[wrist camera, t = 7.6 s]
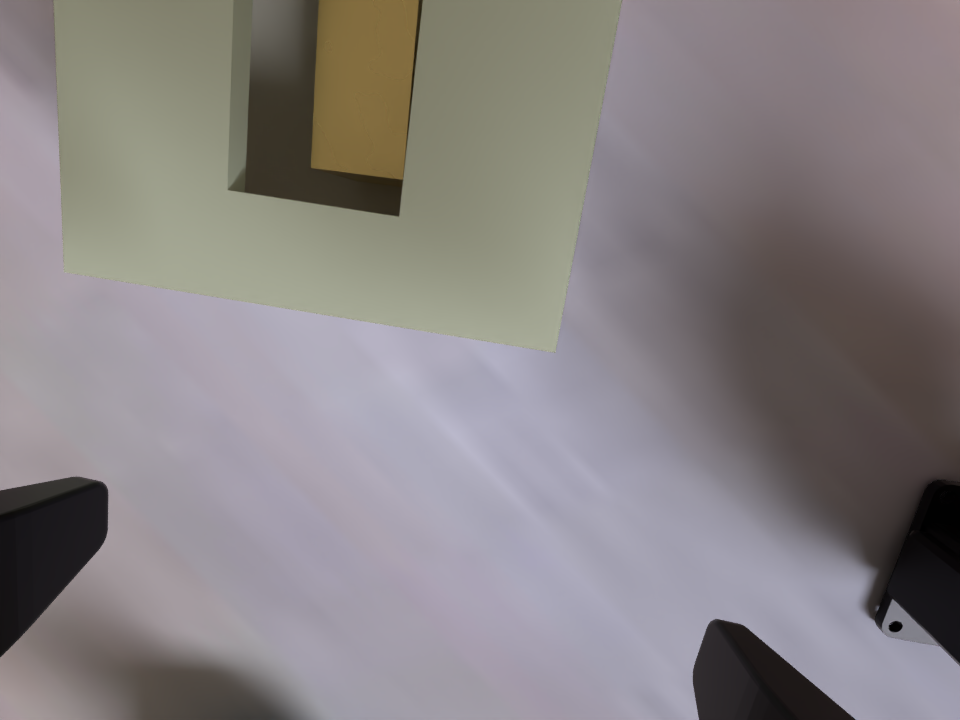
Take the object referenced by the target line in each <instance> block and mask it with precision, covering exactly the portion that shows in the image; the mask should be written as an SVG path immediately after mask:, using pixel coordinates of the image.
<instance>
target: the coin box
mask: <svg viewBox="0 0 960 720" xmlns="http://www.w3.org/2000/svg"><path fill="white" fill-rule="evenodd" d="M621 4H622V0H423V4H422V13H421V22H420V32H419V41H418V50H417V59H416V68H415V77H414V86H413V95H412V104H411V114H410V123H409V132H408V141H407V150H406V159H405V168H404V177H403V187H398V186H390V185H383V184H375V183H367V182H360V181H354V180H351V179H347V178H344V177H340V176H337V175H333V174H330V173H327V172H323V171H320V170H316V169H313V168H311V152H312V131H313V110H314V90H315V69H316V48H317V27H318V7H319V0H53V5H54V30H55V55H56V80H57V106H58V131H59V156H60V182H61V207H62V232H63V257H64V272H66V273H73V274H79V275H85V276H91V277H97V278H103V279H109V280H115V281H121V282H127V283H133V284H140V285H146V286H152V287H158V288H164V289H170V290H176V291H182V292H188V293H194V294H200V295H207V296H213V297H219V298H225V299H231V300H237V301H243V302H249V303H255V304H261V305H268V306H274V307H280V308H286V309H292V310H298V311H304V312H310V313H316V314H322V315H328V316H335V317H341V318H347V319H353V320H359V321H365V322H371V323H377V324H383V325H389V326H395V327H402V328H408V329H414V330H420V331H426V332H432V333H438V334H444V335H450V336H456V337H462V338H469V339H475V340H481V341H487V342H493V343H499V344H505V345H511V346H517V347H523V348H529V349H536V350H542V351H548V352H554V353H555V351H556V346H557V340H558V335H559V330H560V325H561V319H562V314H563V309H564V304H565V298H566V293H567V288H568V282H569V277H570V272H571V267H572V261H573V256H574V251H575V246H576V240H577V235H578V230H579V225H580V219H581V214H582V209H583V204H584V198H585V193H586V188H587V183H588V177H589V172H590V167H591V161H592V156H593V151H594V146H595V140H596V135H597V130H598V125H599V119H600V114H601V109H602V104H603V98H604V93H605V88H606V83H607V77H608V72H609V67H610V61H611V56H612V51H613V46H614V40H615V35H616V30H617V25H618V19H619V14H620V9H621Z"/></svg>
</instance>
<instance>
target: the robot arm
mask: <svg viewBox="0 0 960 720" xmlns="http://www.w3.org/2000/svg"><path fill="white" fill-rule="evenodd" d="M945 491H947V493H946V495H945V496H944V497H942V498H940V496H941V494H942V493H943V492H945ZM107 531H108V489H107V486H106V485H105V484H104V483H103V482H101V481H96V480H92V479H87V478H83V477H70V478H64V479H59V480H54V481H48V482H43V483H38V484H32V485H27V486H22V487H17V488H11V489H6V490H1V491H0V657H1V656H2V655H3V654H4V653H5V652H6V651H7V650H8V649H9V648H10V647H11V646H12V645H13V644H14V643H15V642H16V641H17V640H18V639H19V638H20V637H21V636H22V635H23V634H24V633H25V632H26V631H27V630H28V629H29V627H30V626H31V625H32V624H33V623H34V622H35V621H36V620H37V619H38V618H39V616H40V615H41V614H42V613H43V612H44V611H45V610H46V609H47V607H48V606H49V605H50V604H51V603H52V602H53V601H54V600H55V599H56V597H57V596H58V595H59V594H60V593H61V592H62V591H63V590H64V588H65V587H66V586H67V585H68V584H69V583H70V582H71V581H72V579H73V578H74V577H75V576H76V575H77V574H78V573H79V572H80V570H81V569H82V568H83V567H84V566H85V565H86V564H87V563H88V561H89V560H90V559H91V558H92V557H93V556H94V555H95V554H96V552H97V551H98V550H99V549H100V548H101V546H102V544H103V543H104V541H105V538H106V535H107ZM893 621H895V622H894V623H893V624H891V625H889V624H890V623H891V622H893ZM875 623H876V625H877V626H878V628H879V629H880V630H881V631H882V632H883V633H884V634H885V635H886V636H888V637H891V638H896V639H901V640H907V641H912V642H918V643H923V644H929V645H935V646H940V647H941V648H942V649H943V650H944V651H945V652H946V653H947V654H948V655H949V656H950V657H951V658H952V659H953V660H954V661H955V662H956V663H957V664H958V665H959V666H960V482H955V481H949V480H936V481H933V482H932V483H930V484H929V485H928V486H927V488H926V489H925V492H924V494H923V497H922V499H921V502H920V504H919V507H918V510H917V512H916V515H915V517H914V520H913V522H912V525H911V528H910V530H909V533H908V535H907V538H906V540H905V543H904V545H903V548H902V551H901V553H900V556H899V558H898V561H897V563H896V566H895V569H894V571H893V574H892V576H891V579H890V581H889V584H888V587H887V589H886V592H885V594H884V597H883V599H882V602H881V605H880V607H879V610H878V612H877V615H876V618H875ZM693 686H694V692H695V698H696V704H697V710H698V716H699V720H855V719H854V718H853V717H852V716H851V715H849V714H848V713H847V712H846V711H845V710H844V709H842V708H841V707H840V706H839V705H838V704H836V703H835V702H834V701H833V700H832V699H830V698H829V697H828V696H827V695H826V694H825V693H823V692H822V691H821V690H820V689H819V688H817V687H816V686H815V685H814V684H813V683H812V682H810V681H809V680H808V679H807V678H806V677H804V676H803V675H802V674H801V673H800V672H798V671H797V670H796V669H795V668H794V667H793V666H791V665H790V664H789V663H788V662H787V661H785V660H784V659H783V658H782V657H781V656H780V655H778V654H777V653H776V652H775V651H774V650H772V649H771V648H770V647H769V646H768V645H766V644H765V643H764V642H763V641H762V640H761V639H759V638H758V637H757V636H756V635H755V634H753V633H752V632H751V631H750V630H749V629H748V628H746V627H745V626H743V625H741V624H738V623H733V622H729V621H724V620H719V619H715V620H713V621H711V622H710V623H709V625H708V627H707V629H706V632H705V635H704V638H703V641H702V644H701V647H700V650H699V653H698V655H697V658H696V661H695V665H694V669H693Z"/></svg>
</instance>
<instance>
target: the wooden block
mask: <svg viewBox="0 0 960 720" xmlns="http://www.w3.org/2000/svg"><path fill="white" fill-rule="evenodd" d="M422 4H423V0H319V7H318V27H317V48H316V69H315V90H314V110H313V131H312V152H311V168H313V169H316V170H320V171H323V172H327V173H330V174H333V175H337V176H340V177H344V178H347V179H351V180H354V181H360V182H367V183H375V184H383V185H390V186H398V187H403V177H404V168H405V159H406V150H407V141H408V132H409V123H410V114H411V104H412V95H413V86H414V77H415V68H416V59H417V50H418V41H419V32H420V22H421V13H422Z"/></svg>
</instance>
